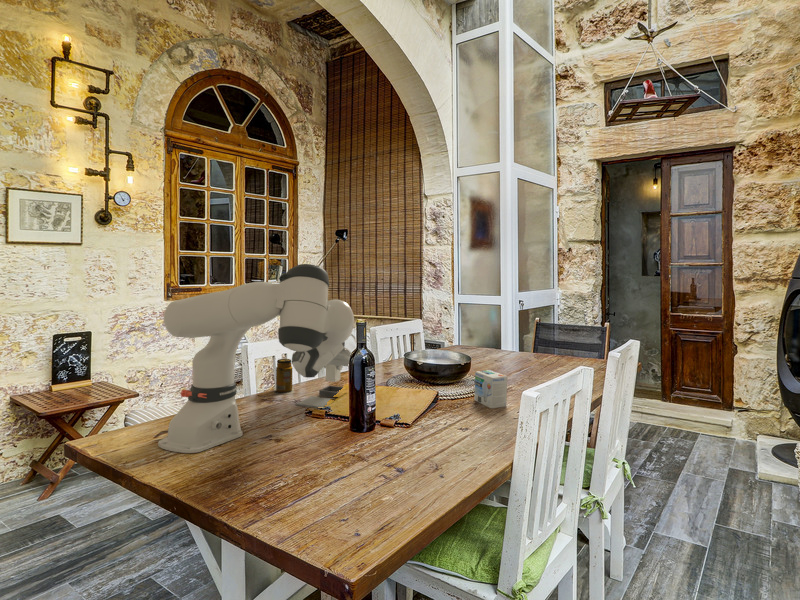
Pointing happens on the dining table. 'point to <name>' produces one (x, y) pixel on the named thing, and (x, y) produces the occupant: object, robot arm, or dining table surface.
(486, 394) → the light bulb box
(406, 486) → the dining table surface
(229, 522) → the dining table surface
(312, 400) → the tile
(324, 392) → the collar
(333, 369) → the post
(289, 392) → the condiment
